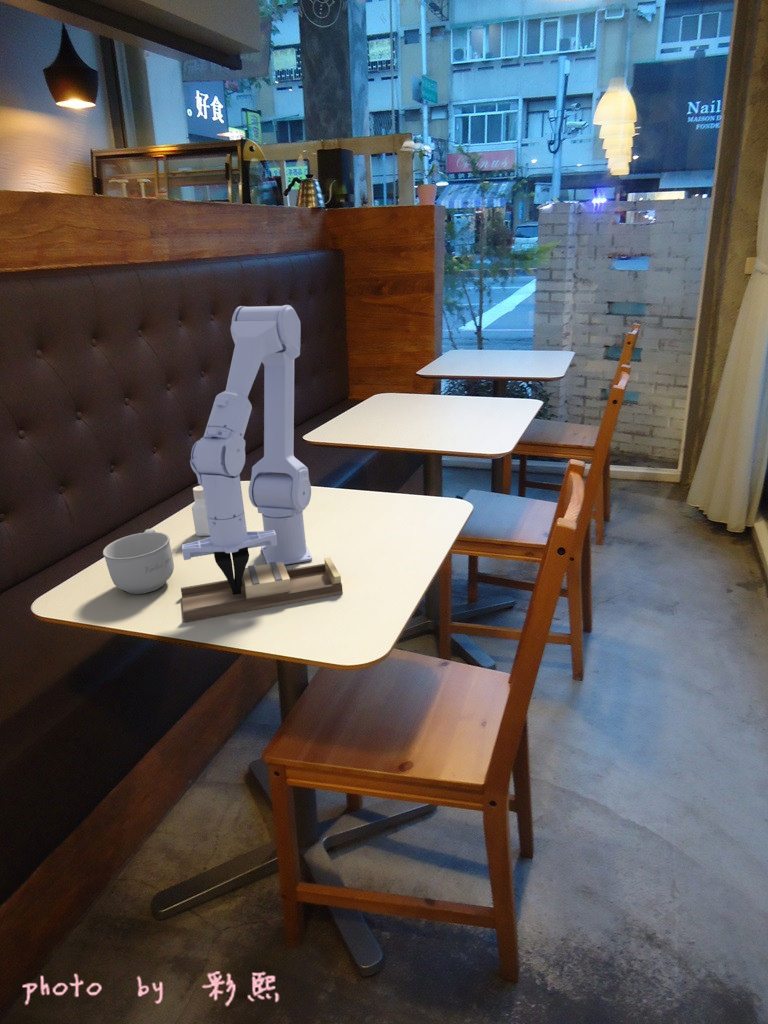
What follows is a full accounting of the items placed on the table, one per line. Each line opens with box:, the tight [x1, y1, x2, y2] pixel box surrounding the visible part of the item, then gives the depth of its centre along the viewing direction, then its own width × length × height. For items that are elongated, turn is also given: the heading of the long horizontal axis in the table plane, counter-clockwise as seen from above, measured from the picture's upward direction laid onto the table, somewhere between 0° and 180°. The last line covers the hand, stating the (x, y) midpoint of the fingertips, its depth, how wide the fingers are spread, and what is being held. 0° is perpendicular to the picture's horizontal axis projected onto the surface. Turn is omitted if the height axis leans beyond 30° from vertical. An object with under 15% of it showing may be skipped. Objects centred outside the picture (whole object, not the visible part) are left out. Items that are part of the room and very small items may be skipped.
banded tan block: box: [242, 562, 291, 599], centre depth 121 cm, size 7×7×3 cm
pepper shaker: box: [191, 485, 210, 537], centre depth 148 cm, size 4×4×10 cm
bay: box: [180, 557, 344, 623], centre depth 122 cm, size 9×25×3 cm, turn 106°
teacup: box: [102, 528, 175, 595], centre depth 128 cm, size 14×11×8 cm
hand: (236, 591), depth 121 cm, fingers closed
